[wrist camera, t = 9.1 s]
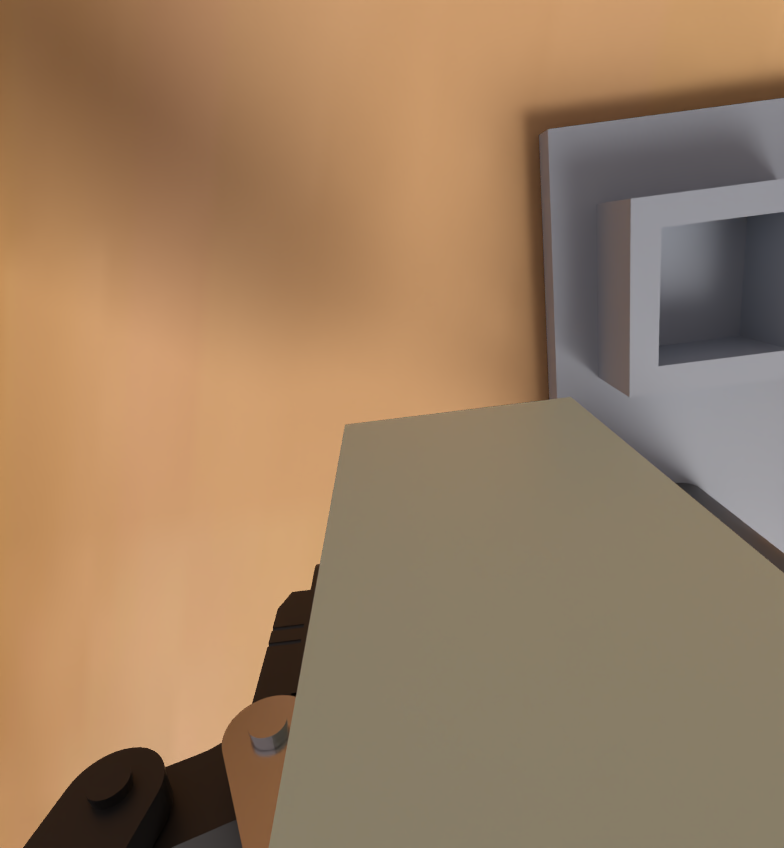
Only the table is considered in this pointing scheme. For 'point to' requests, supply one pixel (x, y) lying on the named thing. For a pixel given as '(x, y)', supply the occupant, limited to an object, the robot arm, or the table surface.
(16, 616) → the table surface
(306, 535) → the table surface
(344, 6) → the table surface
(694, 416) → the board
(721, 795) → the block
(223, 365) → the table surface
